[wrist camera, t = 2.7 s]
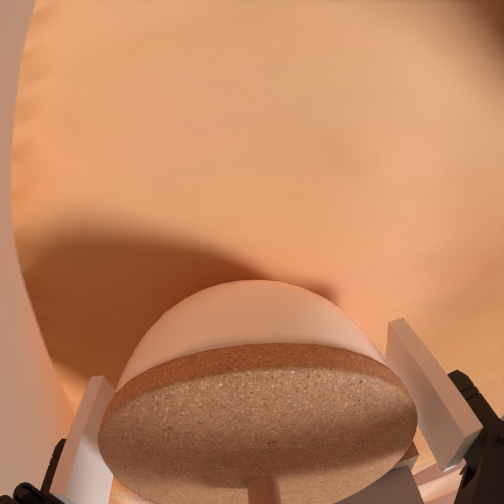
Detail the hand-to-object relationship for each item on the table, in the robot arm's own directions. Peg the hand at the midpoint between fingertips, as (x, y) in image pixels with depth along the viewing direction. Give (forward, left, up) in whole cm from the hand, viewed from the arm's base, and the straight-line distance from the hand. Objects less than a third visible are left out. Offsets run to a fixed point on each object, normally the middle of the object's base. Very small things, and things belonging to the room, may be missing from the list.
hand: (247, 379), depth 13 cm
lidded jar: (0, 0, -3) cm, 3 cm away
